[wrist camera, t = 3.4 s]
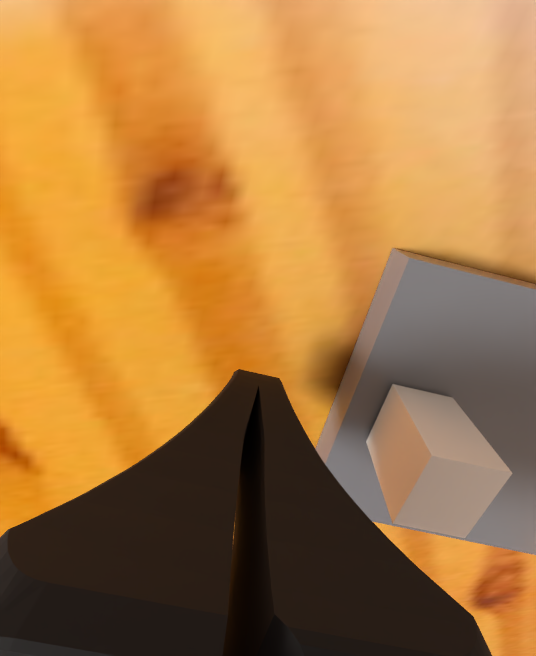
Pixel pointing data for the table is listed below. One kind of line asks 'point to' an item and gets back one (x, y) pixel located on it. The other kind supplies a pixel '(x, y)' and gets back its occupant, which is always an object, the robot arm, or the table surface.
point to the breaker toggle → (433, 463)
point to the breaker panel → (445, 381)
